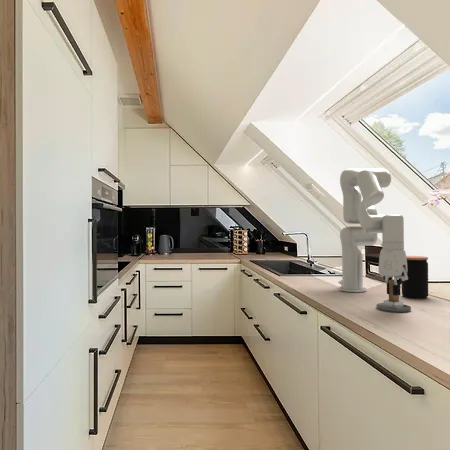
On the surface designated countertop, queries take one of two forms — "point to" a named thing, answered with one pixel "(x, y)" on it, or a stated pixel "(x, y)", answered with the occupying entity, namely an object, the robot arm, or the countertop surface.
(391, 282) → the tan wooden beam
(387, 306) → the round metal socket base
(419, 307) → the countertop surface
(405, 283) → the coffee jar
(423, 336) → the countertop surface
